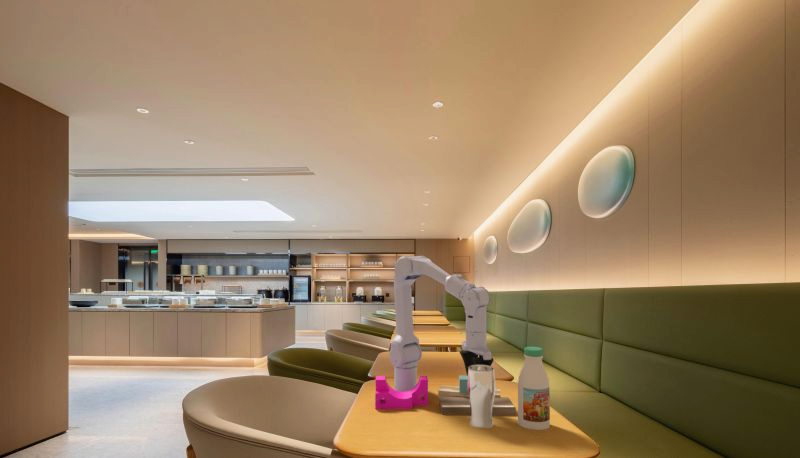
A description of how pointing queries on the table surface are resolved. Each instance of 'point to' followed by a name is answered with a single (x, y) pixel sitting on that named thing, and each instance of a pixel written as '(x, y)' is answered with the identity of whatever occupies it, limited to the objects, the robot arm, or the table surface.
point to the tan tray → (456, 392)
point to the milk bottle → (533, 392)
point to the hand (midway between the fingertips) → (476, 379)
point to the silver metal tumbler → (481, 395)
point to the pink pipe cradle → (400, 395)
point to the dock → (463, 407)
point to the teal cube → (463, 384)
